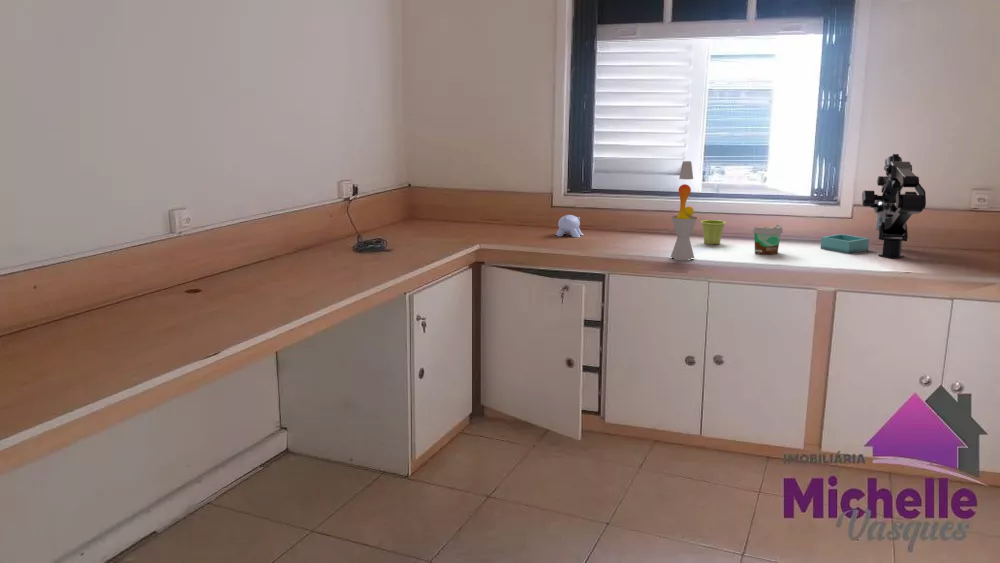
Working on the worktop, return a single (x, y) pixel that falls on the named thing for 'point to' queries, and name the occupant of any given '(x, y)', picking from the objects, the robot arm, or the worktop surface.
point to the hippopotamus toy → (569, 226)
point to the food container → (767, 240)
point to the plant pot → (712, 231)
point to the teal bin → (844, 243)
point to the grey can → (884, 212)
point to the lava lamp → (684, 218)
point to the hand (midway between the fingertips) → (885, 212)
